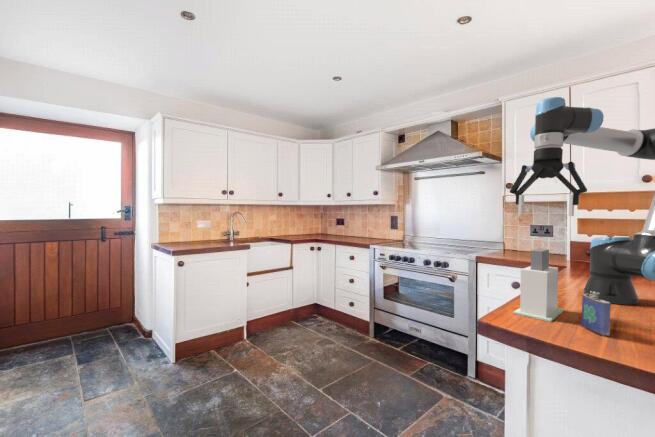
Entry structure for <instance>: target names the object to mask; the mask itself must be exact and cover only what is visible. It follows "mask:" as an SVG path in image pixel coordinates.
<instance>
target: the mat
mask: <svg viewBox="0 0 655 437" xmlns="http://www.w3.org/2000/svg"><path fill="white" fill-rule="evenodd" d="M564 311H565V309H564V308H562V307H557V309H556V310H555V311H554V312H553V313H551V314H550V315H549V316H548V317H541V316H537V315H532V314H527V313H523V312H520V307H519V308H517V309H515V310H514V311H513V312H512V314H514V315H517V316H523V317H527V318H531V319H535V320H536V319H537V320H540V321H545V322H549V323H552V322H553V320H555V319H556V318H557V317H559V316H560V315H561V314H562V313H563V312H564Z"/></svg>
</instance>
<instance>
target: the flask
mask: <svg viewBox="0 0 655 437" xmlns="http://www.w3.org/2000/svg"><path fill="white" fill-rule="evenodd" d="M590 293H592V294H583V293H582V300H581V301H582V302H581V319H580V320H581V321H580V326H581V327H583V329H586V330H588V331H590V332H591V333H594V334H596V335H598V336H601V337H605V338H606V337H610V336H611V305H612V303H610V302H607V301H604V300H601V299H599V298H598V297H599V296H598V295H599V294H600V293H599V292H598V293H596V292H594V291H593V292H592V291H590Z"/></svg>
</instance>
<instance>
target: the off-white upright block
mask: <svg viewBox="0 0 655 437" xmlns="http://www.w3.org/2000/svg"><path fill="white" fill-rule="evenodd" d="M558 283H559V267H555V266H550V249H547V248H535V249H531V250H530V266H527V267H524V268H522V269H520V288H519V289H520V291H519V292H520V296H519V297H520V298H519V299H520V300H519V304H520V305H519V308H520V312H523V313H527V314H532V315H537V316H541V317H548V316H549V315H550V314H551V313H553V312H554V311H555V310H556V309H557V308H558V295H559V294H558V290H559V284H558Z"/></svg>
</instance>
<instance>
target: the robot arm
mask: <svg viewBox="0 0 655 437" xmlns="http://www.w3.org/2000/svg"><path fill="white" fill-rule="evenodd" d="M566 105H567V104H566V99H565V98H564V97H561V96H560V97H559V96H553V97H547V98H544V99H541V100H540V101H539V102H538V103H537V104H536V107H535V108H536V109H535V115H534V116H535V117H534V118H535V119H534V120H535V122H534V125H533V126H532V127H531V128H530V132H529V136H530V138H531V140H532V141H533V142H534V144H533V145H534V147H533V148H534V149H535V150H534V151H533V162H532V164H531V165H526V164H523V165H522V166H521V169H520V173H519V174H518V177H517V178H516V180H515V181H514V183H513V184H512V186H511V188H510V190H509V193H511V194H513V195H515V205H517V206H518V208H517V209H518V212H517V214H518V215H519V216H524V210H525V195H523V194H524V193H525V192H526V191H527V190H528V189H529V188H530V187H531V186H532V185H533V184H534V183H535V182H536V181H538V179H539V178H540V179H553V178H557V179H558V181H560V182H561V183H562V185H564V186H565V187H567V189H569V191H570V192H571V194H569V203H568V204H569V205H568V217H574V216H575V206H578V205H579V204H580V195H581V194H583V193H587V192H588V188H587V187H586V185H585V184H584V182H583V180H582V179H581V176H580V175H579V174H578V172H577V170H576V164H575V162H574V161H569V162H566V163H565V162H564V163H563V153H564V152H563V148H562V147H563V146H564V145H571V146H577V147H584V148H589V149H597V150H601V151H608V152H609V151H610V152H613V153H614V152H615V153H617V154H618V155H620V156H623V157H628V158H635V159H641V160H651V161H655V127H654V128H648V129H643V130H642V129H634V128H632V129H629V130H623V129H616V128H615V129H614V128H610V127H603V126H602V124H603V123H604V117H605V116H604V112H603V111H602V110H601V109H598V108H593V107H583V106H582V107H580V106H579V107H577V106H566ZM564 168H565V169H566V170H568V171H569V173H570V175H571V176H572V179H573V180H574V182H575V183H576V185H577V186H578V189H577V188H576V187H575V186H574V185H573V184H572V183H571V182H570V181H569V180H568V179H567V178H566V177H565V176H564V175H563V174H562V173H561V171H562V170H563V169H564ZM530 171H532V172H533V174H531V175H530V177H529V178H528V179H527V180H526V181H525V182H524V183H523V181H524V180H525V178H526V176H527V174H528V173H529V172H530ZM522 183H523V184H522ZM521 184H522V185H521ZM633 276H635V277H638V278H645V279H647V280H651V281H655V193H654V194H653V197H652V200H651V203H650V206H649V209H648V212H647V215H646V218H645V222H644V225H643V227H642V229H641V231H638V232H637V233H634V235H633V237H631V236H614V237H613V236H609V237H607V236H606V237H595V238H592V239H591V240H590V247H589V277H588V279H587V282H586V284H585V287H584V289H583V293H582V295H583V294H592V293H590V291H592V292H593V291H594V292H596V293H598V292H599V293H600V294H599V295H598V296H599V297H598V298H599V299H601V300H604V301H607V302H610V303H611V304H615V305H627V306H628V305H629V306H630V305H631V306H632V305H637V304H638V303H639V296H638V295H637V291H636V288H635V285H634V283H633V279H632V278H633Z"/></svg>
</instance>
